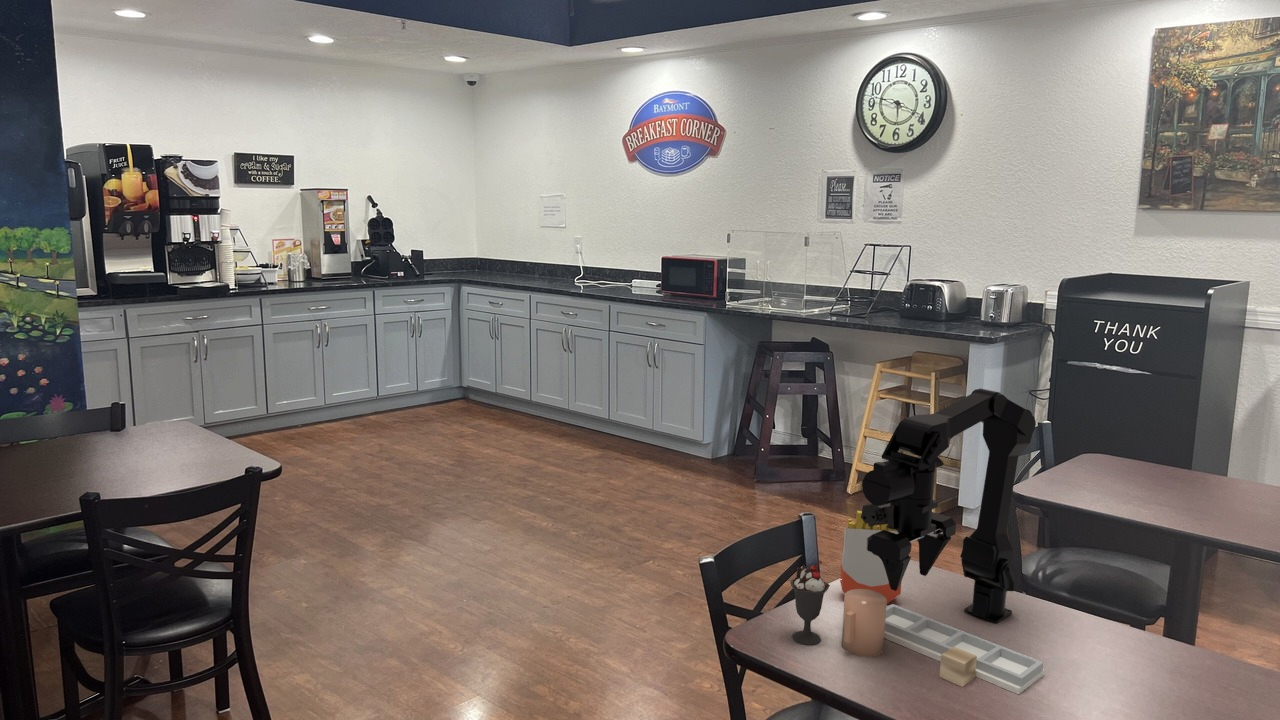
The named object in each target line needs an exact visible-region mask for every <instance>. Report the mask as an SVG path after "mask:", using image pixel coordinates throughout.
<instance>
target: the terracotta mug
mask: <svg viewBox="0 0 1280 720" xmlns="http://www.w3.org/2000/svg"><path fill="white" fill-rule="evenodd" d="M843 599H844V601H843V614H842V616H843V617H842V631H841V632H842V634H841V647H842V649H843V650H845V651H846V652H847V651H848V653H849V652H850V653H849V654H851V655H854V656H859V657H865V658H866V657H867V658H870V657H871V656H872V657H876V656H880V655H881V654H882V653H883V652H884V648H885V647H884V645H885V643H884V642H885V638H884V633H885V619H886V607H887V604H888V603H887V599H886V597H885V596H884V595H882V594H881V593H878V592H876V591H873V590H868V589H853V590H849V591H847V592H846V593H845V592H844V598H843ZM872 657H871V658H872Z"/></svg>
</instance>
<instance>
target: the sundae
mask: <svg viewBox="0 0 1280 720" xmlns="http://www.w3.org/2000/svg"><path fill="white" fill-rule="evenodd" d="M821 564H823V561H821V560H818V562H816V564H814V565H811V566H810V567H806V568H803V567H796V574H795V575H796V577H794V579H791V580H790V583H789V584H790V586H791V588H792V590H794V600H795V609H796V613H797V615H798V616H799V617H800V618H801V619H802V620H803V621H804V622H803V624H804V626H803V629H802V630H798V631H795V632H794V633H793V634H792V640H794V641H795V642H796V643H797V644H800V645H805V646H815V645H817V644H819V643H820V642H821V641H822V638H821V636H820V635H819V634H818V633H815V632H813V631H812V627H811V626H812V625H811V624H812V622H813V620H816V619H817V618H818V617H819V616H820V613H821V611H822V610H821V609H822V605H823V600H824V595H825V593H827V592H828V589H829V587H831V585H830V584H829V583H828V582H826V581H824V579H822V577H821V574H820V572H819V571H818V566H819V565H821Z"/></svg>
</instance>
